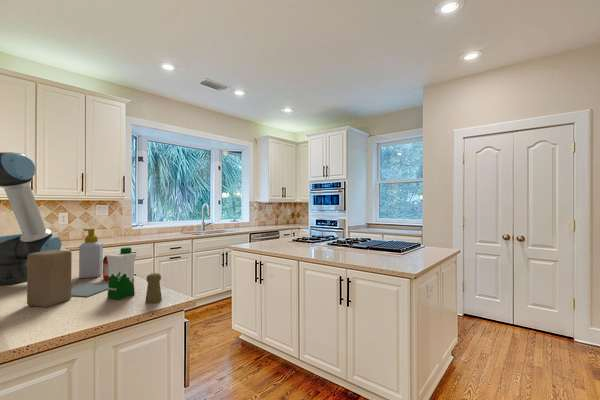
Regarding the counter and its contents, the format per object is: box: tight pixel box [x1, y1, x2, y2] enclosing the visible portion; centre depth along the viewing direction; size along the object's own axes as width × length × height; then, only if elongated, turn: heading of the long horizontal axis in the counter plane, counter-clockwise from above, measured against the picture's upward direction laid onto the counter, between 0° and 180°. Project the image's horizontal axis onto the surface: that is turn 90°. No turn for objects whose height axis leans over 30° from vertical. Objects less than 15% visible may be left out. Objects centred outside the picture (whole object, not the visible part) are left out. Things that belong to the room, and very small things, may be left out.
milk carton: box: [106, 247, 137, 301], centre depth 123 cm, size 9×9×20 cm
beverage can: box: [102, 254, 109, 281], centre depth 150 cm, size 6×6×12 cm
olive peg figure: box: [144, 272, 163, 305], centre depth 117 cm, size 6×6×11 cm
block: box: [26, 249, 73, 308], centre depth 115 cm, size 10×10×20 cm
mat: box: [71, 281, 108, 298], centre depth 132 cm, size 18×18×1 cm
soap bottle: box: [78, 228, 104, 279], centre depth 155 cm, size 9×9×25 cm
